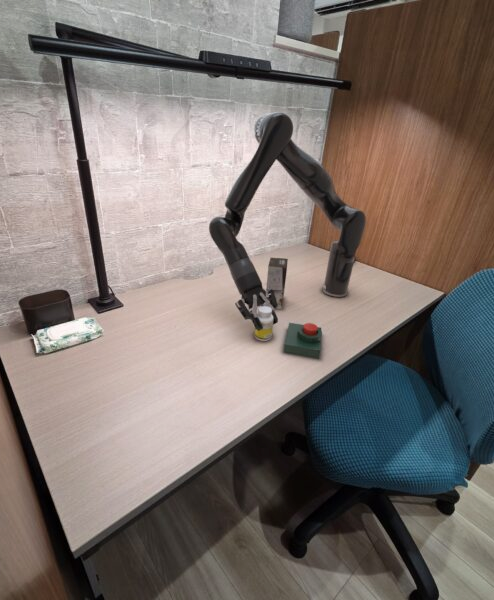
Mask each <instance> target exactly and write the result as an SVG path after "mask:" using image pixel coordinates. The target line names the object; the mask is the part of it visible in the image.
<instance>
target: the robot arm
mask: <svg viewBox="0 0 494 600" xmlns="http://www.w3.org/2000/svg"><path fill="white" fill-rule="evenodd" d="M253 125H254V126H253V134H254V138H255V141H256V142H257V143H258V146H257V148H256V151H255V153H254V155H253V156H252V158H251V160H250V161H249V162H248V164H246V166H245V168H244V169H243V170H242V171H241V173H240V174H239V175H238V177H237V178H236V180H235V182H234V183H233V184H232V187H231V189H230V191H229V192H228V195H227V197H226V199H225V201H224V207H225V208H226V212H225V215H224V216H220V215H219V216H214V217H213V218H212V219H211V220H210V222H209V225H208V231H209V235H210V238H211V240H212V241H213V243H214V244H215V246H216V247H217V249H218V250H219V252H221V254H222V256H223V258H224V260H225V263H226V265H227V267H228V269H229V272H230V275H231V278H232V280H233V282H234V284H235V287H236V289H237V291H238V293H239V295H241V299H239V300H237V301H236V302H235V303H234V304H235V307H236V308H237V310H238V312H239V313H240V314H241V317H242V318H243V319H244V320H245V321H247V320H250V321H251V322H252V325H253V327H254V330H255V329H257V330H258V331H259V330H261V329H263V326H262V324H261V322H260V320H259V318H258V317H257V314H258V307H261V306H268V307H270V308H271V309H272V315H273V318H274V319H273V326H274V325H276V324H278V323H279V318H278V316H277V314H276V311H275V310H276V307H278V304H277V301H276V298H275V294H274V291H273V289H270V290H268V291H266V289H264V288H263V283H262V280H261V278H260V276H259V274H258V271H257V269H256V267H255V265H254V263H253V262H252V260H251V258H250V256H249V255H248V252H247V249H246V247H245V246H244V245H243V243H242V242H240V241H239V240H238V239H237V237H238V235H239V233H240V232H241V229H242V225H243V223H244V219H245V215H246V212H247V210H248V208H249V206H250V204H251V203H252V201H253V198H254V197H255V195H256V193H257V191H258V189H259V187H260V185H261V184H262V182H263V181H264V179H265V177H266V176H267V174H268V173H269V171H270V170H271V168H272V167H273V165H274V164H275V162H276V161H277V163H279V164H280V165H281V166H282V167H283V169H284V170H285V172H286V173H287V174H288V175H289V176H290V178H291V179H292V180H293V182H295V184H296V185H297V186H298V187H299V189H300V190H301V191H302V192H303V193H304V194H305V196H307V197H308V198H309V199H310V200H311V201H312V203H314V204H315V205H316V206H317V207H318V208H319V209H320V210H321V211H322V212H323V214H324V216H325V217H326V218H327V220H328V222H329V223H330V225H331V226H332V227H333V228H334V229H335V230H336V231H337V232H340V235H339V238H338V240H334V241H332V242H331V244H330V250H329V255H328V259H327V265H326V271H325V276H324V282H323V283H322V292H323V293H324V294H325V295H327V296H330V297H333V298H344V297H346V296H347V295H348V290H349V286H350V282H351V281H350V280H351V276H352V272H353V267H354V263H355V262H356V253H357V250H358V248H359V247H360V246H361V242H362V238H363V236H364V232H365V229H366V224H367V218H366V217H367V216H366V213H365V212H364V211H363V210H361V209H358V208H355V207H352V206H350V205H348V204H347V203H346V202H344V200H343V199H342V198H341V197H340V196H339V195H338V193H337V192H336V189H335V185H334V181H333V179H332V177H331V176H330V174H329V172H328V171H327V170H326V169H325V168H324V166H323V165H322V164H321V163H320V162H319V161H318V160H317V159H315V158H314V157H313V156H312V155H311V154H309V153H308V152H306V151H305V150H303V149H302V148H301V147H300V146H298V145H297V143H295V142H294V140H293V138H292V137H293V134H294V122H293V120H292V117H290V116H289V114H287V113H285V112H282V111H274V112H267V113H264V114H262V115H260V116H259V117H258V118H257V119H256V121H255V122H254V124H253ZM266 297H267V298H268V299H267V298H266Z"/></svg>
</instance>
